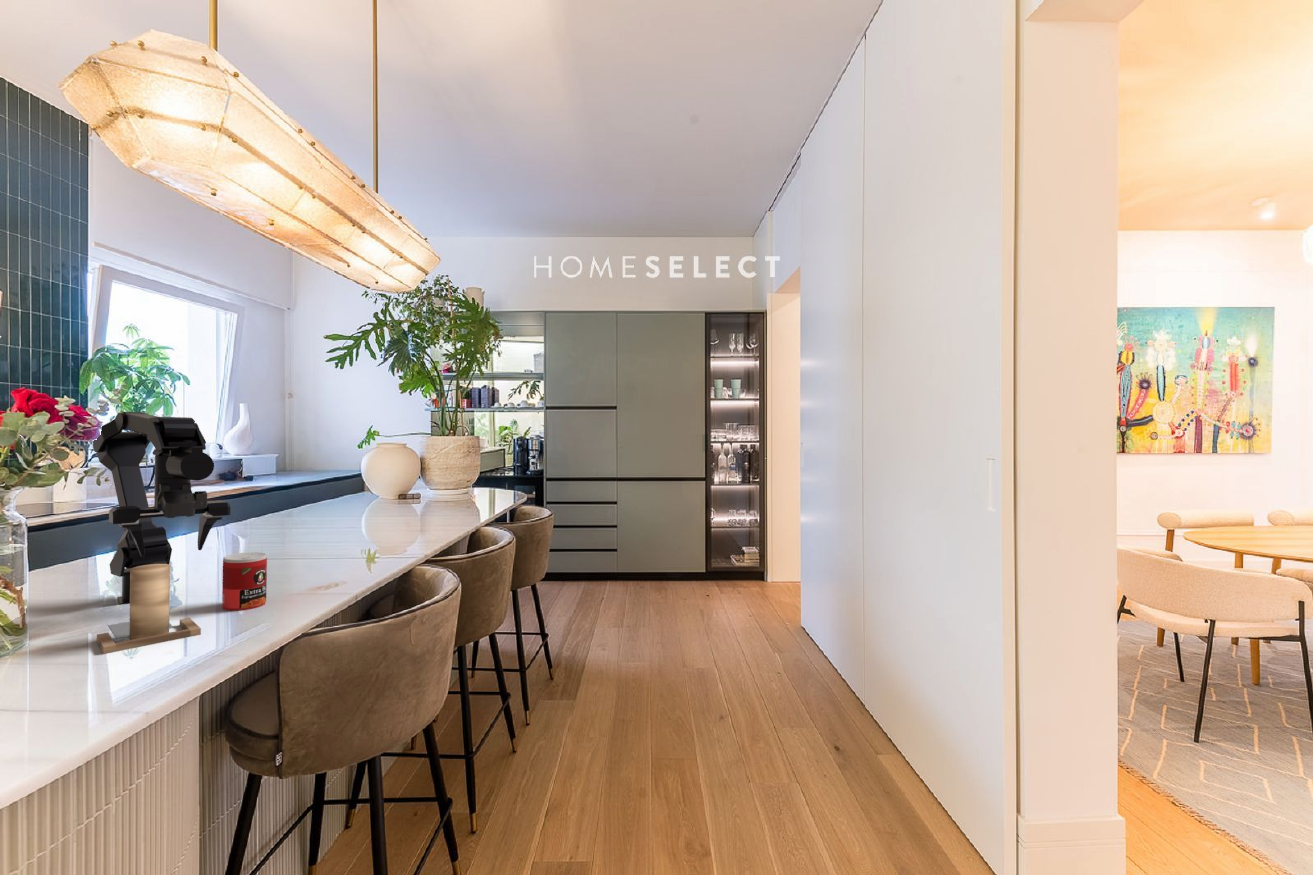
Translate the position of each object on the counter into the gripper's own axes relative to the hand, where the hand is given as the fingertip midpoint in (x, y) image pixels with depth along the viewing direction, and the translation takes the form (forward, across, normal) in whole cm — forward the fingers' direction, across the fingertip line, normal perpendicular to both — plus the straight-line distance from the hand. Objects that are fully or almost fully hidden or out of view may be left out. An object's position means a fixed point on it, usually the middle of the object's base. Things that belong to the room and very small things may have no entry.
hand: (171, 553), depth 120 cm
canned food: (+12, +11, -7) cm, 18 cm away
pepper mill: (+12, -6, -17) cm, 22 cm away
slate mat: (+12, -6, -9) cm, 16 cm away
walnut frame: (+12, -6, -17) cm, 22 cm away
